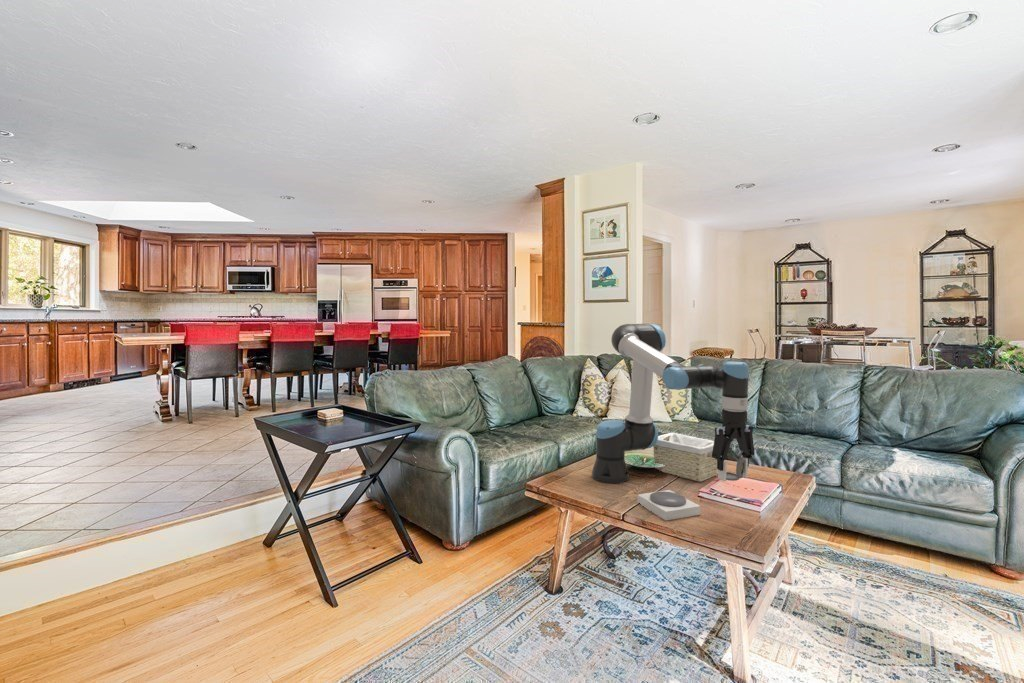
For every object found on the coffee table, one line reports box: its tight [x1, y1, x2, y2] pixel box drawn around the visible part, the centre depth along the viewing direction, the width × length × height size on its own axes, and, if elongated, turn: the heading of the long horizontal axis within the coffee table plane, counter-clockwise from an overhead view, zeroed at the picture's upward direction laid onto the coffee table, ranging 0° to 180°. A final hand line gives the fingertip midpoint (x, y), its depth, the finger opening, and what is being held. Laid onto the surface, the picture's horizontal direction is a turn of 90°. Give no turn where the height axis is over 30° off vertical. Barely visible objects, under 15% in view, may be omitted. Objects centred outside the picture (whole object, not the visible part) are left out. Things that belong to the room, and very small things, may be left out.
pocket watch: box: [716, 451, 745, 482], centre depth 152 cm, size 8×8×10 cm
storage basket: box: [652, 432, 718, 482], centre depth 201 cm, size 24×16×15 cm
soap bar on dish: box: [637, 489, 701, 521], centre depth 163 cm, size 16×14×4 cm
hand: (732, 478), depth 152 cm, fingers closed on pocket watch, 8 cm apart
